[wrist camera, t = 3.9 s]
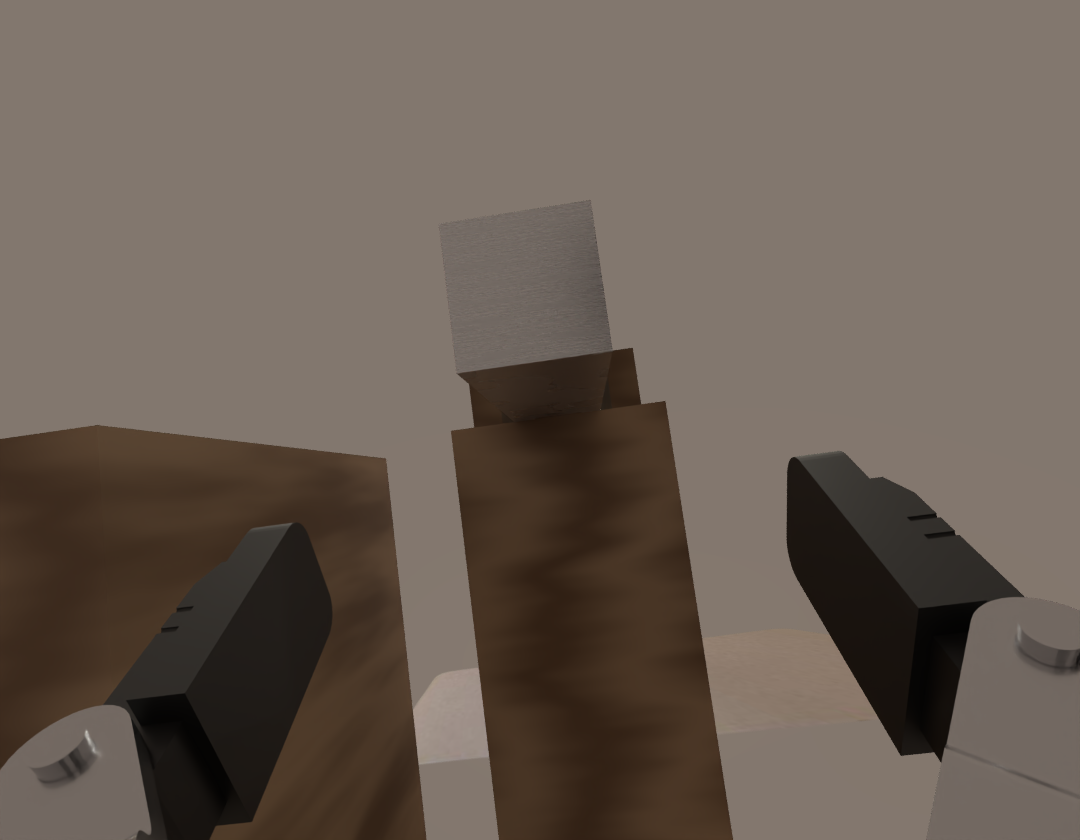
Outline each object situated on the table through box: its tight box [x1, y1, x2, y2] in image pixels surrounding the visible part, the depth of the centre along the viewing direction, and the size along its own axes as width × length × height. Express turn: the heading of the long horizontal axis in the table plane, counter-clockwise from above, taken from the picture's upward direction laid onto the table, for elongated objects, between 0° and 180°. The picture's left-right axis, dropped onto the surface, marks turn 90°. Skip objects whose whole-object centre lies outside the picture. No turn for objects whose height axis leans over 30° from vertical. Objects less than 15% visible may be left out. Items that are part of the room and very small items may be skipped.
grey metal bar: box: [439, 200, 613, 422], centre depth 27 cm, size 25×4×5 cm, turn 176°
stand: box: [0, 348, 733, 840], centre depth 25 cm, size 19×24×34 cm
